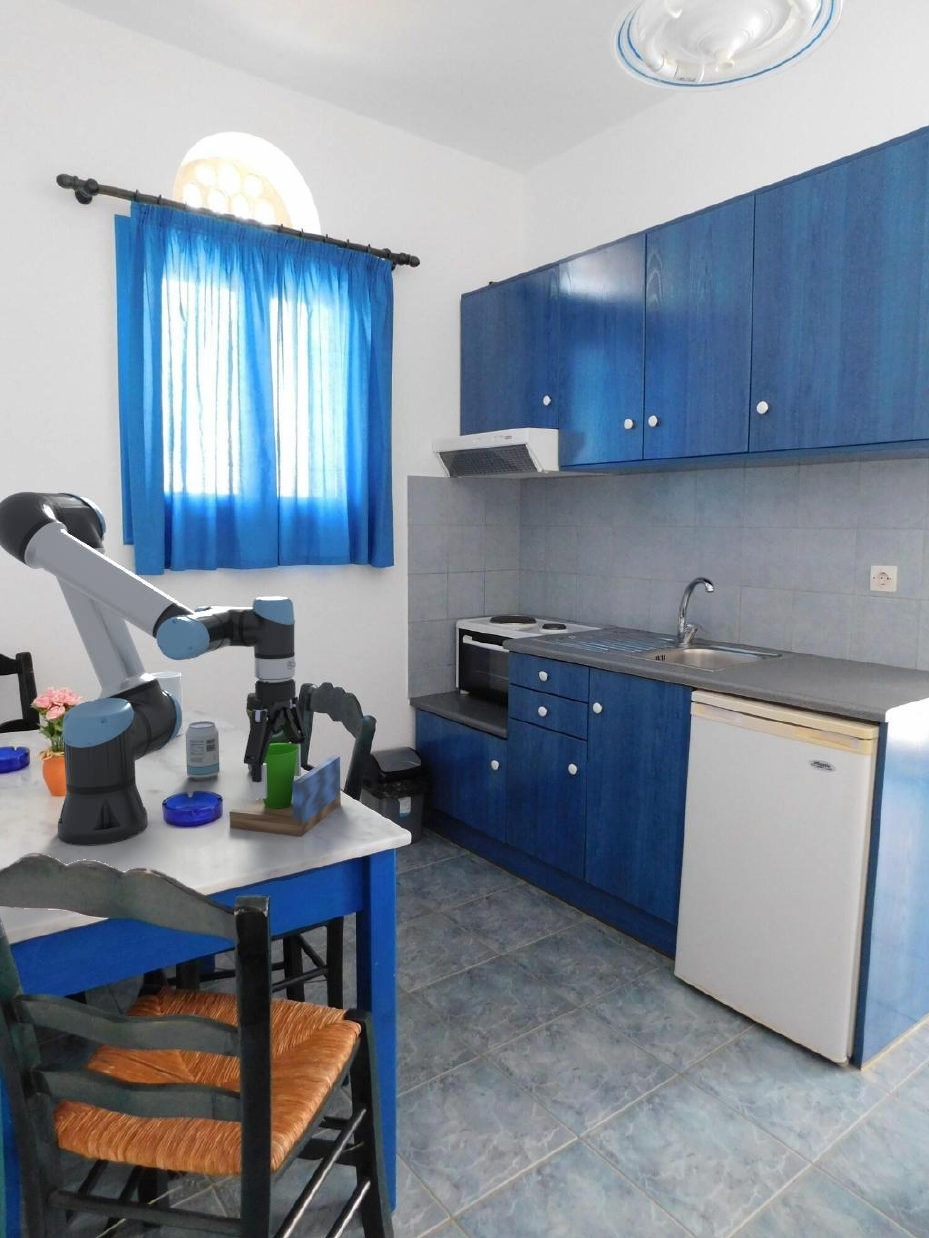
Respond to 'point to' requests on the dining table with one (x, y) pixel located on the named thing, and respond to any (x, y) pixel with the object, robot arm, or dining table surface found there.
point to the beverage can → (202, 750)
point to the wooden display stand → (296, 804)
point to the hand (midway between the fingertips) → (277, 786)
